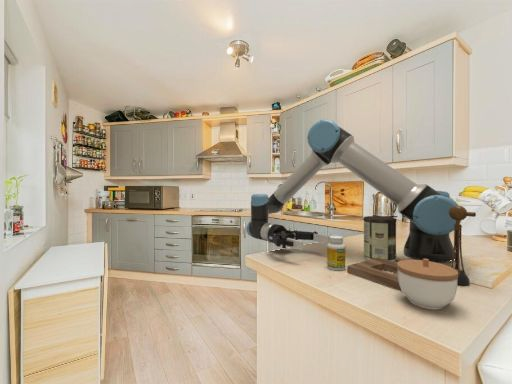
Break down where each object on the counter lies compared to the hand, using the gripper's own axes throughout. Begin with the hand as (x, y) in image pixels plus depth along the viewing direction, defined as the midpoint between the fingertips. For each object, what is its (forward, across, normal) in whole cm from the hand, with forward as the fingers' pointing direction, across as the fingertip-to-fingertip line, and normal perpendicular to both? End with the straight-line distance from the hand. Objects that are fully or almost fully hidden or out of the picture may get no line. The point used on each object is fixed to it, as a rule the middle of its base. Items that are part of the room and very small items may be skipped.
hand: (316, 242), depth 81 cm
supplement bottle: (+8, 0, -7) cm, 10 cm away
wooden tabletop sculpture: (+34, -15, -7) cm, 38 cm away
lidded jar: (+33, +4, -7) cm, 34 cm away
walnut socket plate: (+20, -6, -6) cm, 22 cm away
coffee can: (+10, -21, -7) cm, 24 cm away
